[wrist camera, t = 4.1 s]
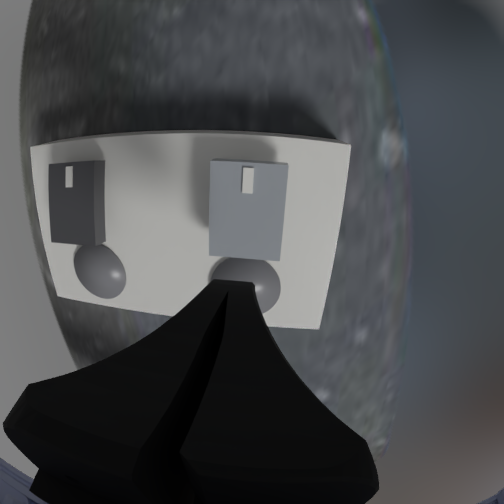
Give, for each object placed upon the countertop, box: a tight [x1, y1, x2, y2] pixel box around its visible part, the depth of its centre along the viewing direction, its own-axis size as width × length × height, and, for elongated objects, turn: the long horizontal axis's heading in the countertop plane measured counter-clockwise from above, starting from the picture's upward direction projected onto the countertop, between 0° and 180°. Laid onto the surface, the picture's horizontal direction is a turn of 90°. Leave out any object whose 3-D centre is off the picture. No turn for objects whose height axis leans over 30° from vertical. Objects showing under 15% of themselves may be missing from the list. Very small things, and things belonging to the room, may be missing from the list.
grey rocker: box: [209, 158, 289, 261], centre depth 12 cm, size 4×3×1 cm
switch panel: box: [30, 130, 351, 329], centre depth 16 cm, size 10×17×3 cm, turn 87°
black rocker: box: [48, 160, 106, 246], centre depth 13 cm, size 4×3×1 cm
